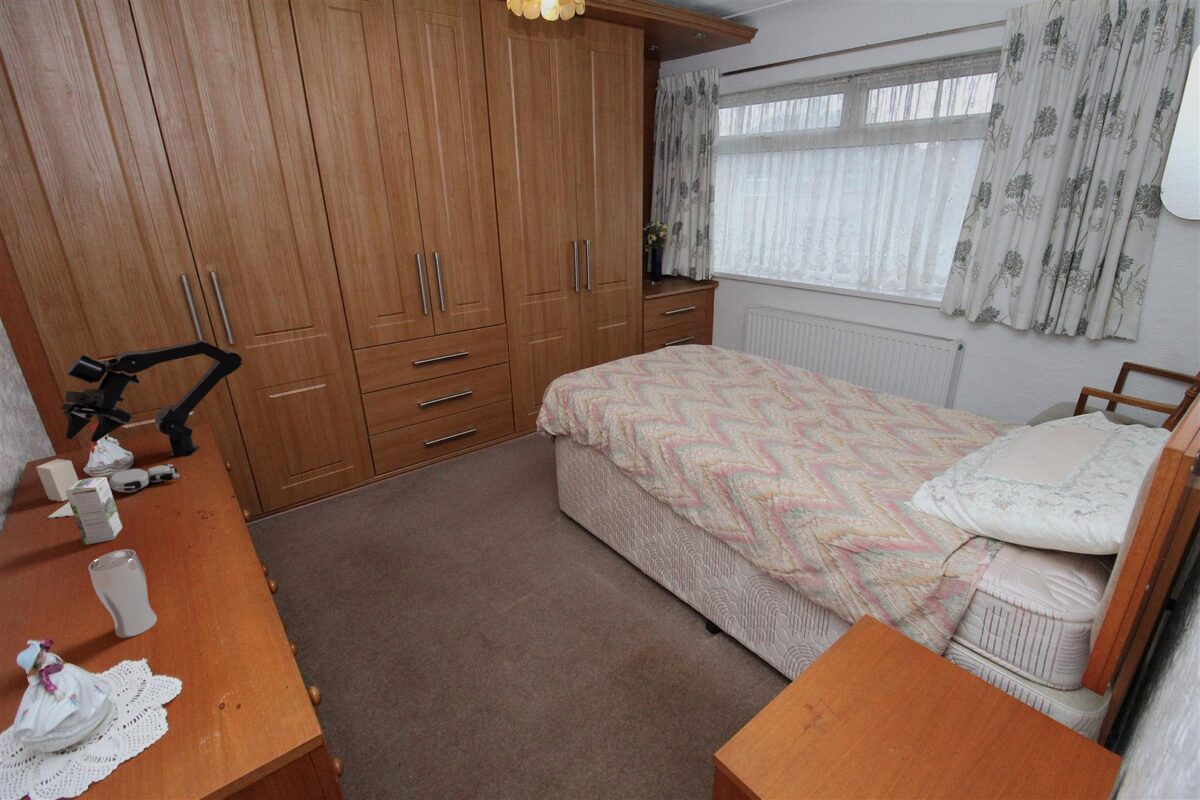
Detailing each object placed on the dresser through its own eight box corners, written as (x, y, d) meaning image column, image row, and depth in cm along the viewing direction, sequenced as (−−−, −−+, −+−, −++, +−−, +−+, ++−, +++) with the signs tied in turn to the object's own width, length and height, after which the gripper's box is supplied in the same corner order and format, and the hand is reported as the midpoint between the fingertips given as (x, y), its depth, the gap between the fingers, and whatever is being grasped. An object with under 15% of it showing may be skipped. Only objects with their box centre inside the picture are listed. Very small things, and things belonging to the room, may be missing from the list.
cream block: (69, 490, 151) (57, 458, 148) (83, 492, 150) (71, 460, 147) (49, 499, 147) (35, 466, 143) (62, 501, 146) (49, 468, 142)
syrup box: (94, 532, 131) (74, 480, 126) (124, 527, 134) (106, 475, 129) (84, 545, 126) (63, 491, 122) (115, 539, 129) (96, 486, 124)
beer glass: (154, 608, 106) (131, 543, 101) (164, 624, 102) (141, 558, 97) (109, 628, 101) (82, 561, 96) (117, 646, 97) (90, 577, 92)
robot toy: (174, 472, 164) (109, 486, 153) (171, 458, 163) (105, 471, 152) (183, 485, 156) (115, 501, 145) (180, 470, 155) (111, 486, 144)
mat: (69, 502, 145) (69, 501, 145) (104, 499, 147) (103, 498, 146) (47, 518, 138) (47, 517, 137) (84, 514, 139) (83, 513, 139)
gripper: (57, 375, 152) (24, 426, 146) (107, 380, 148) (75, 432, 142) (96, 393, 162) (67, 441, 156) (144, 397, 158) (116, 447, 151)
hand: (80, 440), depth 151 cm, fingers open, 9 cm apart
